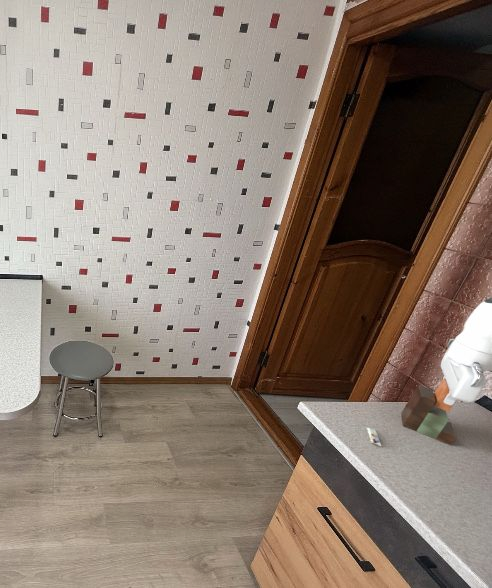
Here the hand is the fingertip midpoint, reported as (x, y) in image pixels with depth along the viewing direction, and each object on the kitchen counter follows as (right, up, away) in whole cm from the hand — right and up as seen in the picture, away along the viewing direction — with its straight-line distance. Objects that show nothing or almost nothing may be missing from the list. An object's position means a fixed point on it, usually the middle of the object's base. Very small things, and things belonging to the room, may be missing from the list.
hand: (445, 397), depth 91 cm
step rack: (-1, -11, +5) cm, 12 cm away
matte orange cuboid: (0, -2, +1) cm, 3 cm away
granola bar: (-20, -11, 0) cm, 23 cm away
